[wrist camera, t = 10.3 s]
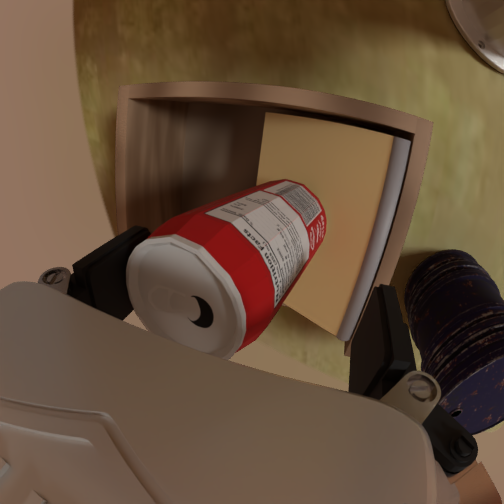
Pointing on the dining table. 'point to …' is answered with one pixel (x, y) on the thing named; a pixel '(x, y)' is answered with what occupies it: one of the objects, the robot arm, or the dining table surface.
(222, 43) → the dining table surface
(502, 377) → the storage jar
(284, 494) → the robot arm
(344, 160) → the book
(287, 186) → the soda can
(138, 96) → the open wooden box
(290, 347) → the dining table surface
